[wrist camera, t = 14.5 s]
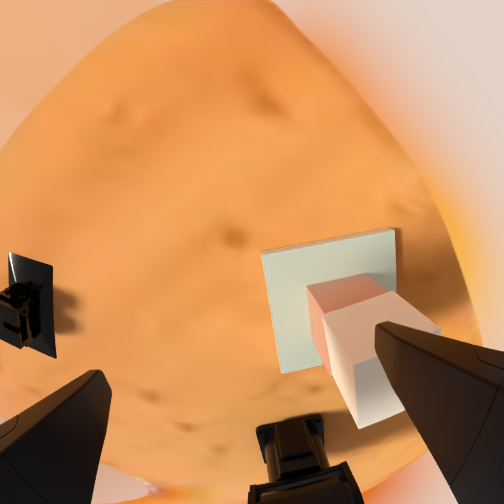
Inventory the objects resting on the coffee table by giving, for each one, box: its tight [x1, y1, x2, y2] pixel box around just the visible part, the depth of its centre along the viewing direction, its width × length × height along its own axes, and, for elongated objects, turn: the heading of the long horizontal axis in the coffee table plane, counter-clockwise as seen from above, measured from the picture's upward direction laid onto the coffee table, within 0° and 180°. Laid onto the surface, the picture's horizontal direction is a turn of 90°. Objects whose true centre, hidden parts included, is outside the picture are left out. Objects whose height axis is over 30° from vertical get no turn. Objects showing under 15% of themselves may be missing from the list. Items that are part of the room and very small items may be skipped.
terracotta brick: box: [306, 273, 388, 378], centre depth 19 cm, size 4×4×5 cm
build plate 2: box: [0, 252, 57, 359], centre depth 20 cm, size 12×7×5 cm, turn 166°
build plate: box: [260, 228, 396, 374], centre depth 22 cm, size 10×10×1 cm
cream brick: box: [322, 291, 441, 429], centre depth 14 cm, size 4×4×5 cm
